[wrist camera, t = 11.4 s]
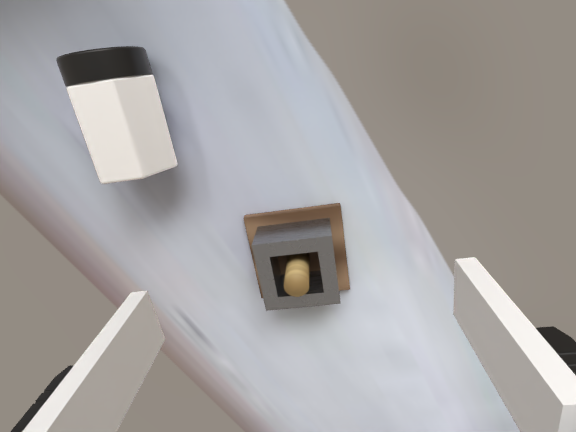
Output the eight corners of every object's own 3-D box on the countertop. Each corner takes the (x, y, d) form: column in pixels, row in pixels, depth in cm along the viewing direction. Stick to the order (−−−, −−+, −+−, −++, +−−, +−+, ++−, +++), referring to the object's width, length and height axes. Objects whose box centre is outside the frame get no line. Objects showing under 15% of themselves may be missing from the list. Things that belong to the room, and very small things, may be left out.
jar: (190, 157, 42) (162, 47, 38) (163, 176, 35) (125, 42, 30) (120, 167, 43) (84, 61, 39) (80, 187, 36) (30, 59, 31)
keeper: (244, 215, 45) (231, 244, 38) (339, 202, 43) (345, 230, 36) (262, 293, 49) (254, 333, 42) (349, 285, 48) (356, 324, 41)
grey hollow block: (257, 226, 44) (251, 245, 40) (329, 217, 43) (331, 235, 39) (270, 287, 48) (266, 310, 43) (337, 279, 47) (340, 303, 42)
